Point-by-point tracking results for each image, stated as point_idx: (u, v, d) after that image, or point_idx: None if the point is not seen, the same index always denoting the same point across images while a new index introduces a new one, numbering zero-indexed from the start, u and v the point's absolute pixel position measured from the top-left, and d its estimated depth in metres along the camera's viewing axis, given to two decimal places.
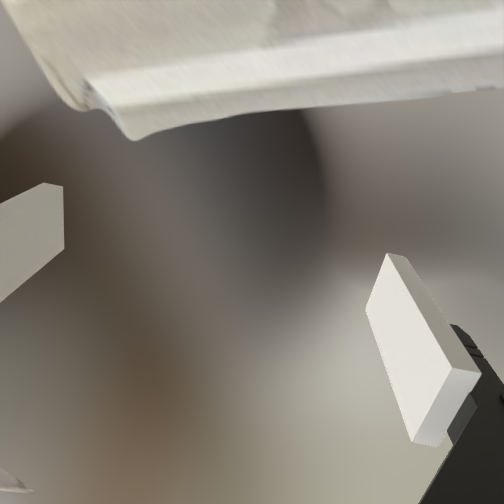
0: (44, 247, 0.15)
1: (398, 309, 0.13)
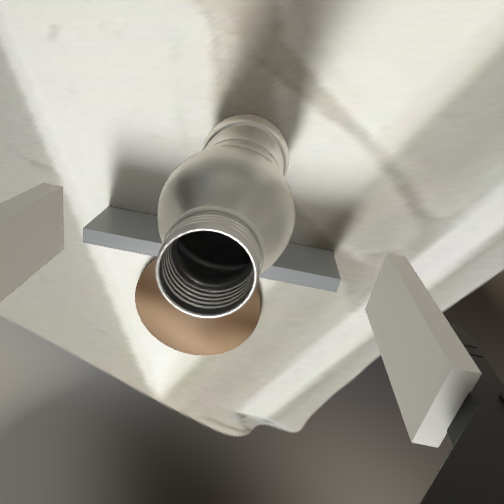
0: (44, 247, 0.15)
1: (398, 309, 0.13)
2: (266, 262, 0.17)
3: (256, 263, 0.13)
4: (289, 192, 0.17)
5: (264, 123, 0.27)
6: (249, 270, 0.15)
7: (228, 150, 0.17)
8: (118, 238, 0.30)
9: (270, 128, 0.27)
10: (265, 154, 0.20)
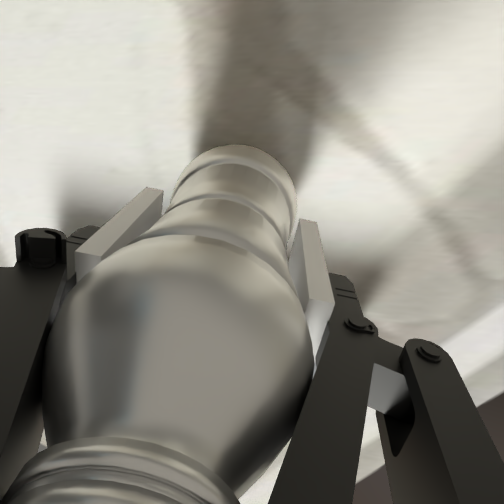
0: None
1: (297, 263, 0.15)
2: None
3: None
4: (303, 333, 0.09)
5: (261, 159, 0.18)
6: None
7: (177, 255, 0.08)
8: None
9: (270, 167, 0.18)
10: (259, 231, 0.12)
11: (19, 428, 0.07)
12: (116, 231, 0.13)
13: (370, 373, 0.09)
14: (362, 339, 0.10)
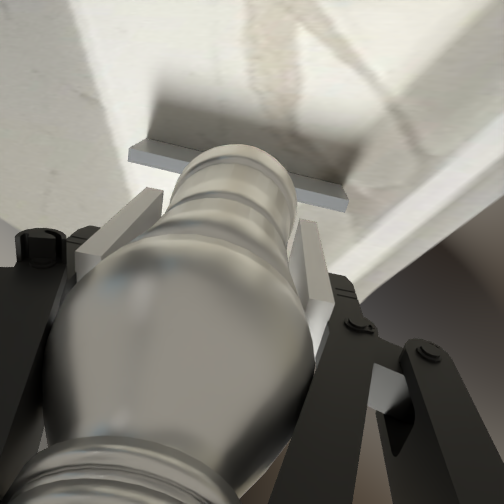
0: None
1: (297, 263, 0.15)
2: (256, 480, 0.08)
3: None
4: (304, 332, 0.09)
5: (262, 159, 0.18)
6: None
7: (178, 254, 0.08)
8: (158, 157, 0.35)
9: (270, 167, 0.18)
10: (259, 231, 0.11)
11: (19, 428, 0.07)
12: (116, 231, 0.13)
13: (370, 373, 0.09)
14: (362, 339, 0.10)
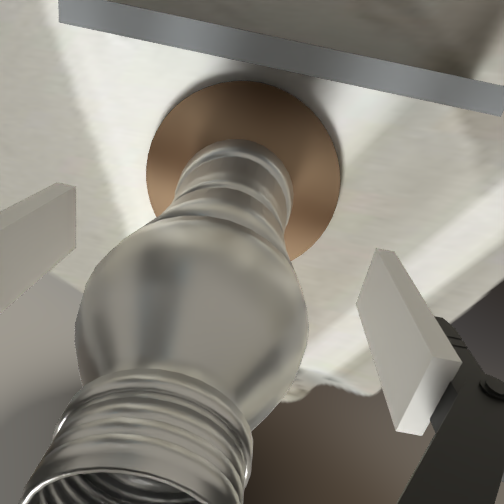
0: (58, 246, 0.15)
1: (386, 302, 0.13)
2: None
3: None
4: (299, 298, 0.10)
5: (260, 152, 0.20)
6: None
7: (191, 231, 0.09)
8: (120, 10, 0.17)
9: (268, 160, 0.19)
10: (259, 215, 0.13)
11: None
12: None
13: None
14: (500, 409, 0.09)
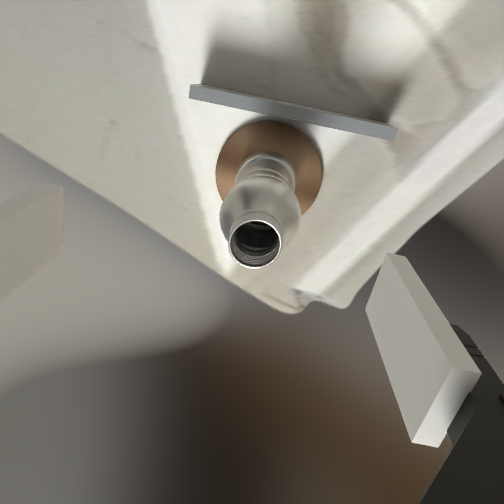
0: (44, 247, 0.15)
1: (399, 309, 0.13)
2: (284, 242, 0.29)
3: (281, 238, 0.26)
4: (297, 202, 0.30)
5: (280, 157, 0.40)
6: (276, 244, 0.28)
7: (263, 178, 0.29)
8: (218, 93, 0.37)
9: (283, 161, 0.39)
10: (282, 179, 0.33)
11: None
12: None
13: None
14: None
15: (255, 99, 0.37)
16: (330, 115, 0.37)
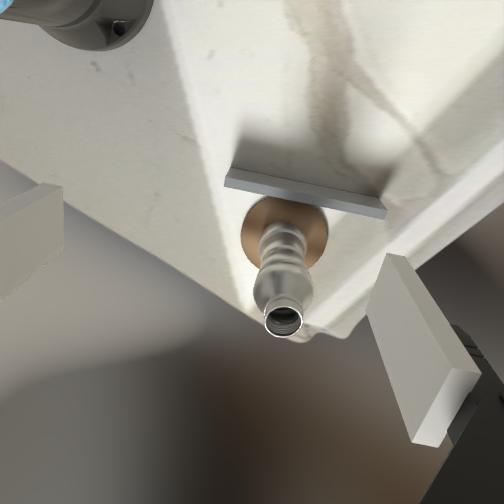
0: (44, 247, 0.15)
1: (398, 309, 0.13)
2: (302, 312, 0.40)
3: (302, 318, 0.36)
4: (311, 282, 0.40)
5: (294, 229, 0.50)
6: (297, 318, 0.38)
7: (286, 266, 0.40)
8: (247, 183, 0.47)
9: (297, 232, 0.50)
10: (299, 259, 0.43)
11: None
12: None
13: None
14: None
15: (276, 188, 0.47)
16: (335, 200, 0.47)
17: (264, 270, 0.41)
